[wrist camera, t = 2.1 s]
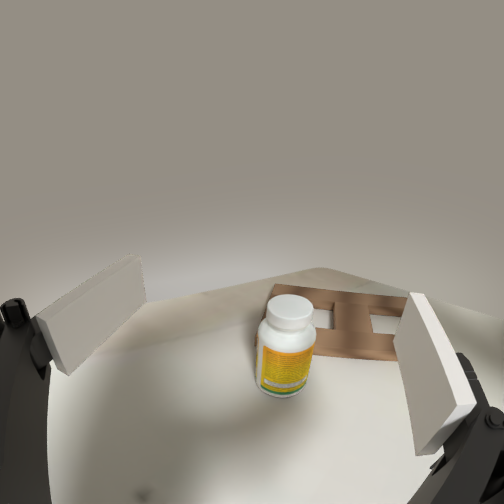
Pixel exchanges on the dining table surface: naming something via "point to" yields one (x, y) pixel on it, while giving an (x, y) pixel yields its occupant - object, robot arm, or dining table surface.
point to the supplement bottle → (285, 346)
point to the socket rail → (349, 322)
